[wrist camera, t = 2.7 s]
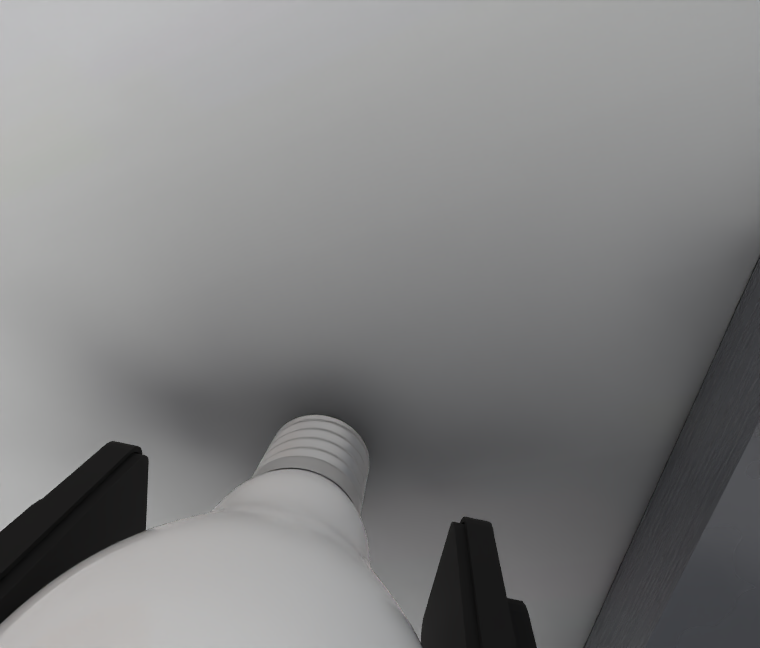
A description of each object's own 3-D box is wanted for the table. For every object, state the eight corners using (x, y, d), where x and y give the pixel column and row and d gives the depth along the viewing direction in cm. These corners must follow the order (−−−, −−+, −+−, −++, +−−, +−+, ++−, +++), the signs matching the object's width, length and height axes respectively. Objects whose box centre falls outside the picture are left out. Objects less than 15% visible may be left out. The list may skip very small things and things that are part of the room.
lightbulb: (203, 510, 14) (-413, 1457, 4) (227, 313, 12) (-954, 1157, 2) (408, 560, 14) (372, 1670, 4) (466, 370, 12) (754, 1621, 2)
